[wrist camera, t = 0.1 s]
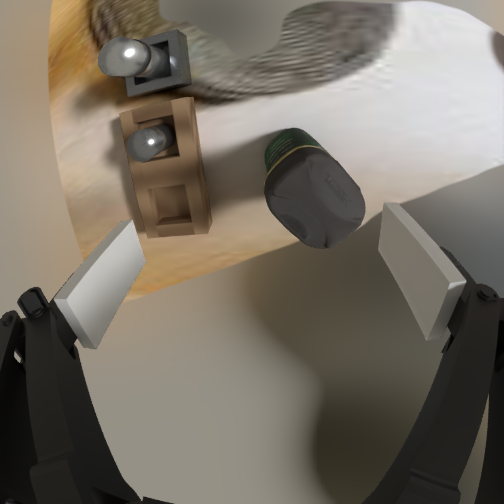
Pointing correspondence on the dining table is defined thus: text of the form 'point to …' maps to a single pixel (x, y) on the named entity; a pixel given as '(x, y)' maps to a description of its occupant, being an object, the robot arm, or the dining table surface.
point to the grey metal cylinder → (133, 59)
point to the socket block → (178, 58)
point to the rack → (170, 172)
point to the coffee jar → (311, 190)
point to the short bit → (151, 141)
